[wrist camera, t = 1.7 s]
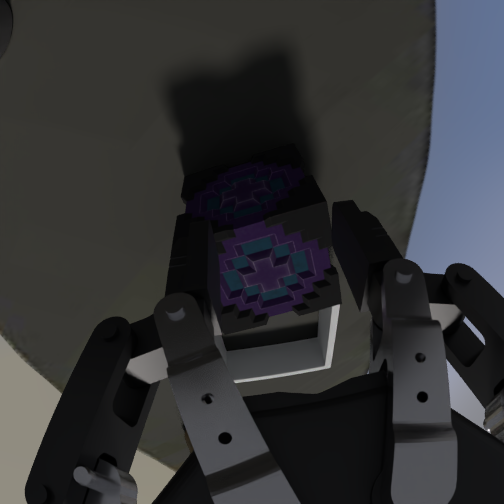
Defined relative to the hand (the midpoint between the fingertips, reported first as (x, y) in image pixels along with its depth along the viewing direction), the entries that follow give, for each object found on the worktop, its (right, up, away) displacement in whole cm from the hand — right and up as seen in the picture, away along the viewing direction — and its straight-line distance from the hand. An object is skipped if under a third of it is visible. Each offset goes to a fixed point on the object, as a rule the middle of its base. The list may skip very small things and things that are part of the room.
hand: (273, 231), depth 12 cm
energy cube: (-1, +5, +24) cm, 25 cm away
